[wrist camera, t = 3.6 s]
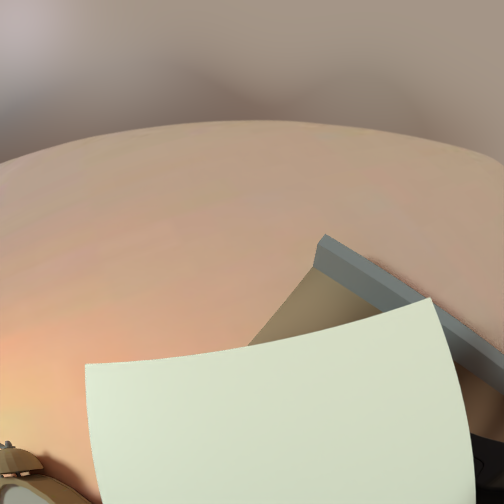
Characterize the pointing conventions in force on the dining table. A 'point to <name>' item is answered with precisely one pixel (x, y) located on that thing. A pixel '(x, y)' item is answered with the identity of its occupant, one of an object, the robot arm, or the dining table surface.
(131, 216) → the dining table surface
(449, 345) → the rail
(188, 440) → the carton
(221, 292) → the dining table surface
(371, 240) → the dining table surface
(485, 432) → the shelf board
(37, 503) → the alarm clock
